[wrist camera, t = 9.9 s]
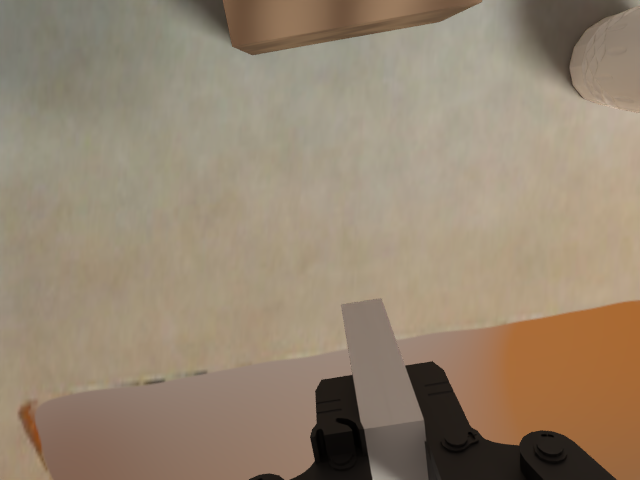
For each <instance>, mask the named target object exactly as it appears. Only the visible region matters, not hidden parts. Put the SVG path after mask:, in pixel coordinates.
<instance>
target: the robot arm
mask: <svg viewBox="0 0 640 480" xmlns="http://www.w3.org/2000/svg"><path fill="white" fill-rule="evenodd" d="M341 307H342V314H343V320H344V326H345V332H346V339H347V345H348V351H349V357H350V364H351V370H352V375H350V376H343V377H337V378H331V379H324V380H321V382H320V384H319V386H318V387H317V389H316V391H315V392H316V413H317V424H316V425H315V427H314V428H313V429H312V432H311V436H310V438H311V443H312V448H313V453H314V458H315V462H314V463H313V464H312V466H311V467H310V468H309V469H308V470H306V471H305V472H304V473H302V474H301V475H299V476H297V477H295V478H293V479H290V480H616V479H615V478H614V477H613V476H612V475H611V474H610V473H608V472H607V471H606V470H605V469H604V468H603V467H602V466H601V465H599V464H598V463H597V462H596V461H595V460H594V459H593V458H592V457H590V456H589V455H588V454H587V453H586V452H585V451H584V450H583V449H581V448H580V447H579V446H578V445H577V444H576V443H575V442H573V441H572V440H570V439H569V438H567V437H566V436H564V435H561V434H558V433H556V432H552V431H536V432H531V433H529V434H527V435H526V436H524V437H523V438H522V440H521V442H520V446H518V445H507V444H500V443H495V442H491V441H489V440H486V439H484V438H483V437H482V436H481V435H480V434H479V432H478V431H477V430H475V429H473V428H471V426H470V425H469V422H468V420H467V419H466V416H465V414H464V412H463V410H462V408H461V406H460V404H459V401H458V399H457V397H456V395H455V393H454V392H453V389H452V387H451V385H450V383H449V380H448V378H447V376H446V374H445V372H444V370H443V369H442V368H440V367H439V366H438V365H436V364H435V363H434V362H433V361H432V362H427V363H419V364H413V365H406V366H405V364H404V361H403V359H402V356H401V353H400V350H399V347H398V345H397V341H396V339H395V336H394V333H393V330H392V327H391V324H390V321H389V319H388V316H387V313H386V310H385V307H384V304H383V302H382V299H381V298H380V299H373V300H367V301H361V302H355V303H348V304H342V305H341ZM249 480H284V479H283V478H281V477H280V476H279V475H274V474H262V475H258V476H256V477H254V478H251V479H249Z"/></svg>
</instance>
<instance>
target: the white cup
mask: <svg viewBox="0 0 640 480" xmlns="http://www.w3.org/2000/svg"><path fill="white" fill-rule="evenodd" d="M569 68H570V74H571V79H572V84H573V86H574V87H575V89H576V90H577V91H578V92H579V93H580V95H581V96H582V97H583V98H584V99H586V100H589V101H591V102H594V103H597V104H600V105H605V106H609V107H612V108H616V109H621V110H626V111H630V112H636V113H640V6H637V7H634V8H631V9H628V10H626V11H624V12H621V13H619V14H616V15H612V16H609V17H606V18H604V19H602V20H600V21H599V22H597V23H596V24H594V25H593V26H591V27H590V28H588V29H587V30H586V31H585V32H584V34H583V35H582V37H581V38H580V39H579V41H578V42H577V44H576V45H575V46H574V49H573V53H572V57H571V62H570V66H569Z"/></svg>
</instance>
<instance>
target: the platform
mask: <svg viewBox="0 0 640 480" xmlns="http://www.w3.org/2000/svg"><path fill="white" fill-rule="evenodd" d="M481 2H482V0H223V4H224V9H225V14H226V19H227V24H228V28H229V33H230V38H231V43H232V47H235V48H237V49H239V50H242V51H244V52H246V53H248V54H251V55H256V54H261V53H267V52H273V51H278V50H284V49H290V48H295V47H301V46H306V45H312V44H318V43H323V42H329V41H335V40H340V39H346V38H352V37H357V36H363V35H368V34H374V33H380V32H385V31H391V30H397V29H402V28H408V27H413V26H419V25H425V24H430V23H436V22H440V21H443V20H445V19H447V18H449V17H451V16H453V15H455V14H457V13H460V12H462V11H464V10H466V9H468V8H470V7H472V6H474V5H477V4H479V3H481Z"/></svg>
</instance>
